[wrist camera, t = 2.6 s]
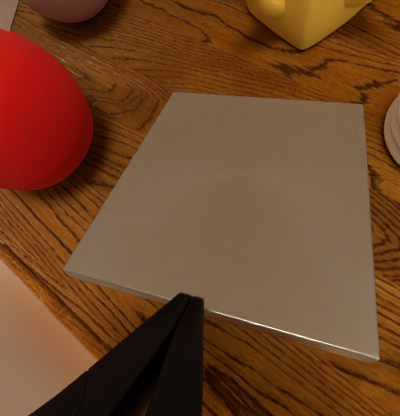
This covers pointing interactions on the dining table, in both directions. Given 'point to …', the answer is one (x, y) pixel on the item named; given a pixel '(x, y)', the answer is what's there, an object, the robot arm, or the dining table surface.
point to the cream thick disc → (393, 129)
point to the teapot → (304, 17)
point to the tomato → (39, 117)
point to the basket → (7, 13)
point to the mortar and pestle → (67, 9)
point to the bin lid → (247, 219)
